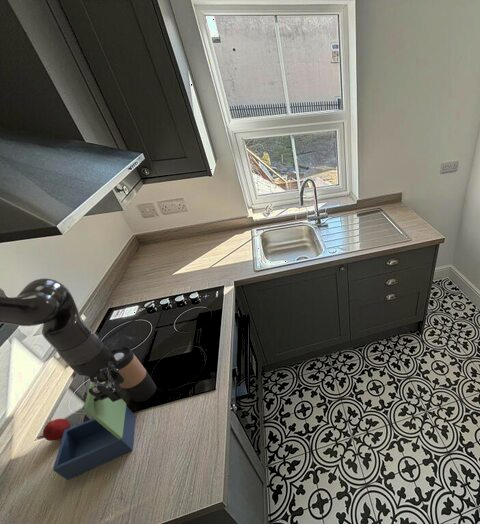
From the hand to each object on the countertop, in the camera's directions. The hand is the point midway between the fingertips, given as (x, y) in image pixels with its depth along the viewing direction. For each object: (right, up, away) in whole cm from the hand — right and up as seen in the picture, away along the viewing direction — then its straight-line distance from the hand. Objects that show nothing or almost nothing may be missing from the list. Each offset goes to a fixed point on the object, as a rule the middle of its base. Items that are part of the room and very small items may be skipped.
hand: (118, 390), depth 81 cm
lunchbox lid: (-4, -5, +1) cm, 6 cm away
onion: (-25, -19, +10) cm, 33 cm away
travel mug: (-7, -10, +21) cm, 24 cm away
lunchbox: (-10, -20, +7) cm, 23 cm away
